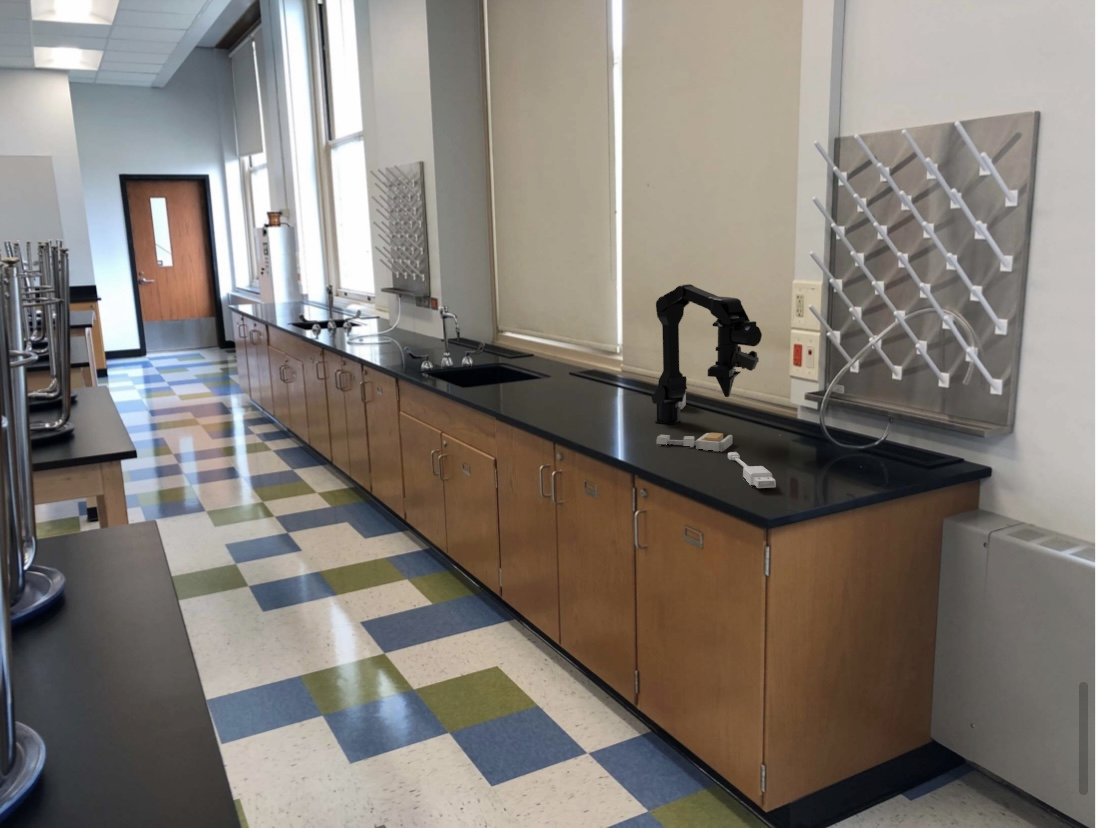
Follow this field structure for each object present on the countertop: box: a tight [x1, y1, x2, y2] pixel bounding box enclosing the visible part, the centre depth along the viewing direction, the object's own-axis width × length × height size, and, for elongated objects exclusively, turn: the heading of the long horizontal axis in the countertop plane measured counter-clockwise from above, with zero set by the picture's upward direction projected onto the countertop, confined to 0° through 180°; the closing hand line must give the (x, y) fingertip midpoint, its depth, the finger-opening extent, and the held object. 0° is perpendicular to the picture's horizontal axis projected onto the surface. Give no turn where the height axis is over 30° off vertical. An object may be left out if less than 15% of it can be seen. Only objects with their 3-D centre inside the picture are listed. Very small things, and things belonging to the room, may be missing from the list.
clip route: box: [655, 434, 696, 448], centre depth 242 cm, size 12×4×2 cm, turn 62°
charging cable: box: [727, 451, 777, 489], centre depth 214 cm, size 5×32×3 cm, turn 3°
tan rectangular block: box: [704, 432, 724, 442], centre depth 239 cm, size 4×6×4 cm, turn 152°
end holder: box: [695, 432, 733, 453], centre depth 239 cm, size 8×10×2 cm
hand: (727, 396), depth 247 cm, fingers closed
